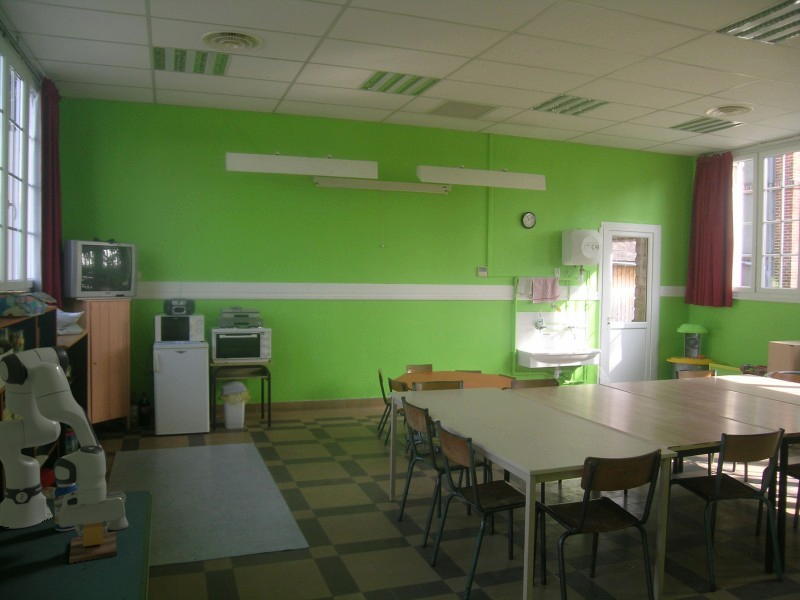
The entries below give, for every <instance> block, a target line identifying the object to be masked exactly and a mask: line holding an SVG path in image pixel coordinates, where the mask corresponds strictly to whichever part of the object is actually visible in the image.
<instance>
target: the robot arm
mask: <svg viewBox="0 0 800 600" xmlns="http://www.w3.org/2000/svg"><path fill="white" fill-rule="evenodd" d="M69 364H70V363H69V356H68V352H67V350H65V349H64V348H63V347H62V346H58V345H57V346H56V345H55V346H52V345H51V346H49V347H37V348H32V349H27V350H24V351H20V352H17V353H9V354H7V355H5V356H3V357H1V359H0V378H1V380H2V381H3V382H4V383H5V391H4V392H5V399H4V401H5V402H4V406H5V408H6V409H7V410H8V411H9V412H10V413H11V414H14V415H17V416H20V417H22V418H17V419H10V420H1V421H0V461H1V463H2V464H3V465H2V466H3V468H4V473H5V486H4V500H2V501H1V502H0V526H4V527H9V528H8V529H23V528H28V527H32V526H33V527H34V526H35V525H39V524H41V523H42V521H43V522H45V521H47V519H48V520H50V518H51V519H53V518H52V517H53V516H54V515H53V513H52V512H51V509H50V507H49V505H48V504H47V497H46V496H45V495H44V494H43V492H42V491H43V489H42V488H43V484H42V481H41V472H40V471H41V468H40V467H41V466H40V463H39V461H38V460H37V459H36V458H34V457H32V456H28V455H25V454H22V453H21V450H22V449H25V448H26V449H27V448H33V447H41V446H45V445H49V444H50V443H53V442H56V441H57V440H58V438H59V437H60V434H61V424H60V423H63V424H65V425H69V426H70V427H71V428H72V430H73V431H74V434H75V436H76V438H77V440H78V443H79V445H80V447H79V449H78V450H76V451H75V452H72V453H70V454H66V455H63V456H62V457H58V459H57V460H56V461H55V462H54V465H53V468H52V470H53V473H52V474H53V476H54V478H55V481H56V480H57V481H58V482H59V483H61V484H72V483H75V484H76V485H77V486H78V488H77V490H76V491H73V492H71V493H68V494H66V495H65V496H64V498H63V505H62V507H61V510H60V517H59V526H60V527H69V526H75V529H74V530H75V532H76V533H77V534H78V538H81V537H83V530H81V529H80V526H83V524H89V523H96V522H103V523H104V522H106V525H105V526H103V534H107V533H109V532H108V531H109V529H108V527H109V526H110V524H111V520H116V519H123V518H124V516H125V517H126V508H125V503H126V501H127V495H126V493H125V492H123V491H120V490H119V491H111V492H110V491H108V492H107V481H106V474H107V465H108V456H107V453H106V451H105V450H104V449H103V447H102V446H101V444H100V442H99V439H98V437H97V434H96V432H95V429H94V427H93V425H92V423H91V420H90V419H89V416H88V414H87V412H86V410H85V408H84V407H83V406H81V405H80V404H79V403H78V402H77V401H76V399H75V398H74V396H73V393H72V390H71V387H70V383H69V381H68V378H67V376H66V373H65V372H66V371H67V369H68V367H69ZM44 520H45V521H44ZM4 527H3V528H4Z"/></svg>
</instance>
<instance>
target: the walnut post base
mask: <svg viewBox="0 0 800 600" xmlns="http://www.w3.org/2000/svg"><path fill="white" fill-rule="evenodd" d="M70 541H71V543H70V547H69V549H70V550H69V557H68V563H70V564H74V562H76V563H80V562H79V561H82V562H86V561H85V560H88V561H92V559H94V560H99V558H100V559H105V558H111V557H117V555H118V550H117V549H118V548H117V531H111V532H108V533H107V534H103V544H97V545H90V546H84V547H83V537H81V538H78V537H74V538H73V537H71V540H70ZM110 556H111V557H110Z"/></svg>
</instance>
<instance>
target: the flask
mask: <svg viewBox="0 0 800 600" xmlns="http://www.w3.org/2000/svg"><path fill="white" fill-rule="evenodd" d="M129 526H130V524H129V521H128V520H127V518H126V515H125V516H124V518H123V519H116V520H111V524H110V526H109V527H108V531H120V530H124V529H128V527H129Z"/></svg>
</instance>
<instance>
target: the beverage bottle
mask: <svg viewBox="0 0 800 600" xmlns="http://www.w3.org/2000/svg"><path fill="white" fill-rule="evenodd" d="M55 484H56V485H57V486H56V488H55V489H54V492H53V495H54V498H53V504H54V505H53V506H54V529H55V530H56V531H59V532H67V531H72V530H75V526H69V527H60V526H59V517H60V510H61V507H62V505H63V498H64V496H65V495H66V494H68V493H71V492H73V491H76V490H77V488H78V485H77V484H76V483H72V484H61V483H59V482H58V481H57V480H56V479H55Z"/></svg>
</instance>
